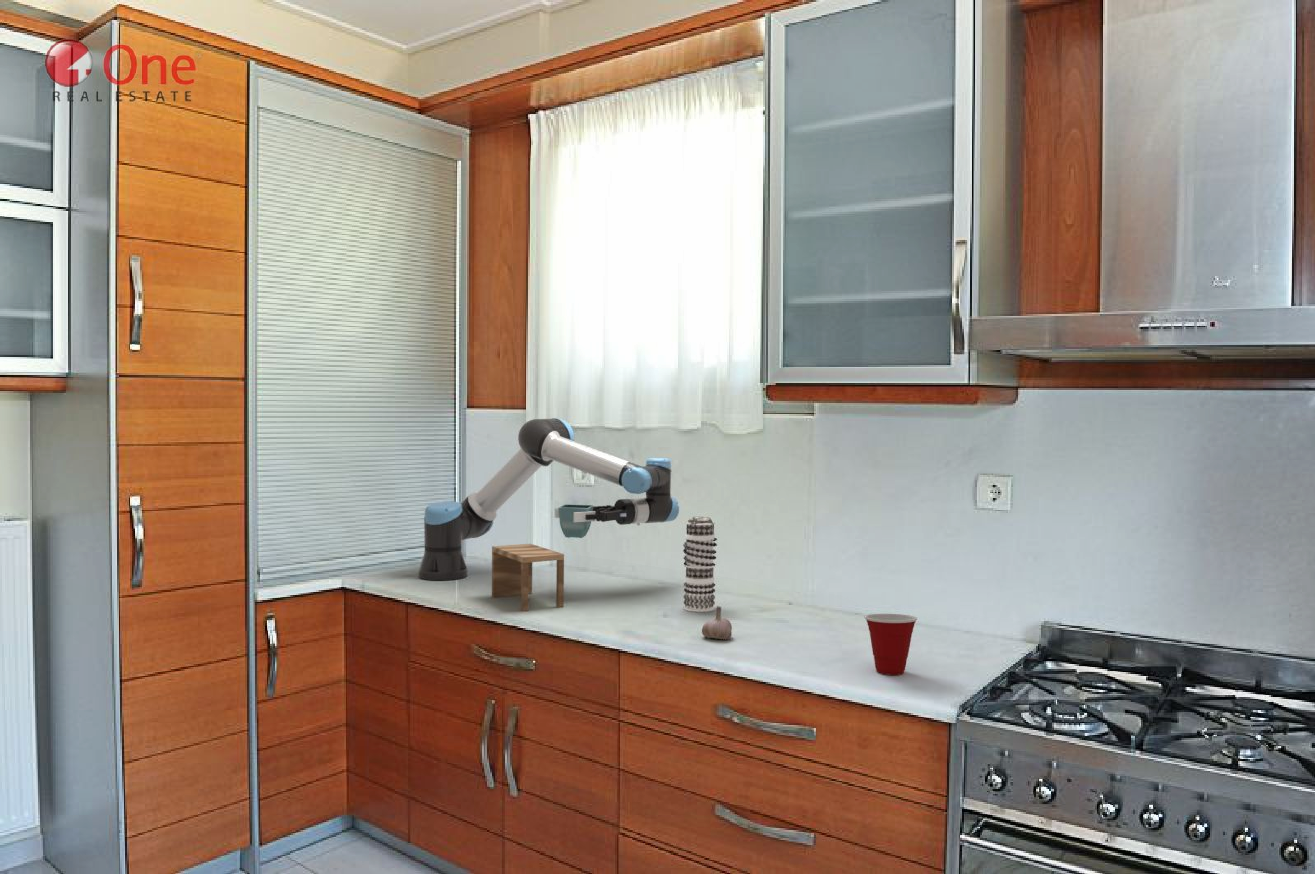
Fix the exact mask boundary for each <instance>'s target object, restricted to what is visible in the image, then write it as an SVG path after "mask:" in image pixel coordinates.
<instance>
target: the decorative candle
mask: <svg viewBox="0 0 1315 874" xmlns="http://www.w3.org/2000/svg"><path fill="white" fill-rule="evenodd" d="M685 524H686V530H685V531H686V533H685V542H683V545H682V546H683V547H684V549H682V551H683V553H684V554H685V555H684V556H683V560H684V562H683V566H684V567H685V577H684V581H685V582H684V583H683V586H684V587H685V588H684V589H683V591H684V593H685V594H684V595H683V599H684V600H683V602H682V603H683V604H684V606H683V609H684V610H686V611H688V612H696V613H697V612H698V613H705V612H712V611H715V609H716V607H715V604H716V601H715V599H716V596H715V595H714V593H715V592H716V589H715V588H714V587H715V586H716V583H714V582H715V577H714V568H715V567H716V563H714V560H716V559H717V557H716V556H715V554H716V553H717V551H716V549H714V547H716V546H718V543H716V541H717V540H718V538H716V537H715V522H713V520H712V519H711V518H710V517H708V516H691V517H690V518H689V517H688V520H687V522H685Z"/></svg>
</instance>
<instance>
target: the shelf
mask: <svg viewBox="0 0 1315 874" xmlns="http://www.w3.org/2000/svg"><path fill="white" fill-rule="evenodd" d="M553 561H556V588H555V589H556V594H555V596H556V597H555V598H556V602H555V606H556V607H557V606H558V607H557V608H562V607H561V606H564V603H565V602H564V601H565V597H564V595H565V593H564V592H565V587H564V586H565V553H563V552H562V553H561V552H559V551H555V550H553V549H552V550H551V549H548V548H545V547H543V546H539V545H535V544H532V543H523V544H507V545H496V546H495V545H494V546H491V597H492V598H500V597H499V596H503V597H512V596H517V595H518V596H520V611H521V612H528V611H529V595H530V594H531V595H532V594H533V563H538V562H553ZM564 607H565V606H564Z"/></svg>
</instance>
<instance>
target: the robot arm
mask: <svg viewBox="0 0 1315 874" xmlns="http://www.w3.org/2000/svg"><path fill="white" fill-rule="evenodd" d="M518 431H519V432H518V436H517V437H518V439H517V441H518V445H519V447H520V449H519V450H518V451H517V452H516V453H515V454H514V455H513V456H512V457H511V459H509V460H508V461H507V463H505V465H504V466H503V467H501V469H499V471H498V472H496V474H494V475H493V477H492V478H490V480H489V481H487V483H486V484H485V485H484V486H483V487H482V488H481V489H480V490H478V492H471V493H470V494H469V495H468V496H467V497H466V498H465V499H463V501H462V502H459V501H442V502H441V501H440V502H434V503H431V504H429V505H428V506H426V507H425V509H424V518H423V521H424V525H423V527H424V553H423V557H422V559H421V561H420V566H419V568H418V578H420V579H422V580H426V581H427V580H429V581H453V580H459V579H460V580H461V579H464V578H466V577H467V576H468V567H467V563H466V561H465V558H464V555H463V552H462V548H463V547H462V546H463V545H462V544H463V543H462V542H463V541H464V540H468V539H476V538H479V537H482V536H484V535H486V534H487V533H488V532H490V530H491V529H492V527H493V525H494V520H495V519H497V516H498V515H497V513H498V510H499V509H500V508H501V507H502V506H503V505H504V504H505V503H506V502H507V501H509V499H510V498H511V497H512V496H513V495H514V494H515V493H516V492H517V491H518V490H519V489H520V488H521V487H522V486H523V485H524V484H525V483H526V482H527V481H528V480H529V479H530V478H531V477H532V476H533V475H534V474H535V473H536V472H537V471H538V470H539V469H540V468H542V467H548V466H551V464H552V463H553V462H557V463H559V464H562V465H565V466H567V467H570V468H573V469H576V470H577V471H578V470H579V471H581V472H582V473H586V474H588V475H591V476H594V477H596V478H599V479H602V480H604V481H607V482H609V483H612V484H615V485H618V486H620V487H622V488H623V489H624V491H626V492H628V493H630V494H636V495H640V494H643V493H645V498H644V497H640V498H639V497H638V498H636V497H635V498H625V499H624V498H619V499H617V500H616V501H615V503H614V505H610V504H609V505H607V504H606V505H596V506H595V505H593V511H592V512H574V522H590V521H591V522H602V523H605V522H611V521H615V522H616V523H617V524H618V525H622V526H624V525H632V524H633V525H634V524H635V525H636V526H641V524H652V523H654V524H656V523H667V522H672V521H675V520H676V519H677V517H678V516H679V512H680V506H679V502H678V500H677V499H676V498H675V497H673V496H672V494H671V490H672V489H671V484H672V482H671V481H672V480H671V479H672V468H671V467H672V465H671V464H672V463H671V460H670V459H669V458H665V457H651V458H650V457H649V458H647V459H646V461H645V465H644V466H642V465H638V464H636V463H633V462H630V461H628V460H625V459H623V458H620V457H618V456H615V455H612V454H609V453H606V452H604V451H601V450H599V449H595V448H593V447H590V446H587V445H584V444H582V443H580V442H576V441H575V434H574V431H573V428H572V426H571V425H570V424H569V422H567V421H566V420H564V419H560V418H557V417H553V418H535V419H534V418H533V419H530V420H528V421H526V422H525V423H524V424H523V425H521V427H520V429H519V430H518ZM554 518H556V519H558V518H559V507H556V508H554Z"/></svg>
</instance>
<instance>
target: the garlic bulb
mask: <svg viewBox="0 0 1315 874" xmlns="http://www.w3.org/2000/svg"><path fill="white" fill-rule="evenodd" d="M715 609H716V611H715V616H716V617H715V618H713V619H712V620H708V621H706V622H705V623H704V624H703V626H702V629H701V634H702V636H703V637H704V638H706V637H707V639H710V638H715V639H714V640H722V639H723V640H724V639H725V640H724V641H729V640H730V639H731V638H732V634H733V633H732V630H733V626H732V623H731V622H730V620H729V619H728V618H724V617H722V606H720V605H716V608H715Z"/></svg>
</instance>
